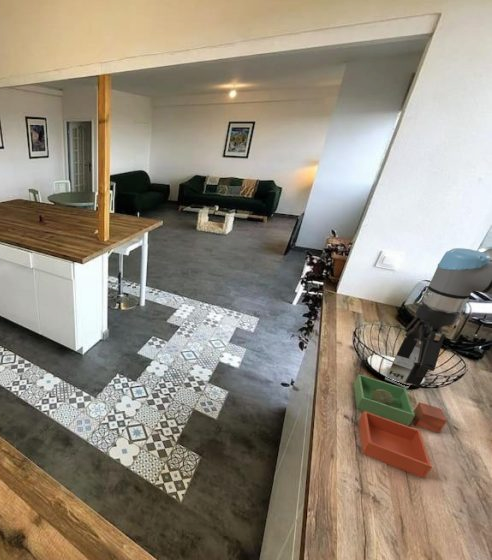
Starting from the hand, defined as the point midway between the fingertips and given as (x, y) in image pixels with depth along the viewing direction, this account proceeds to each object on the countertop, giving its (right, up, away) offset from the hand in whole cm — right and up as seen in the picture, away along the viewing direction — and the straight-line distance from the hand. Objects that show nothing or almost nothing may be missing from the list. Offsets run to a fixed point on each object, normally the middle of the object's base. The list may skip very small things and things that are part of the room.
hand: (407, 369), depth 90 cm
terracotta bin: (-11, -20, -6) cm, 23 cm away
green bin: (-1, -13, +8) cm, 15 cm away
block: (+6, -16, +1) cm, 18 cm away
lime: (-2, -13, +7) cm, 15 cm away
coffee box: (+15, -9, +18) cm, 25 cm away
